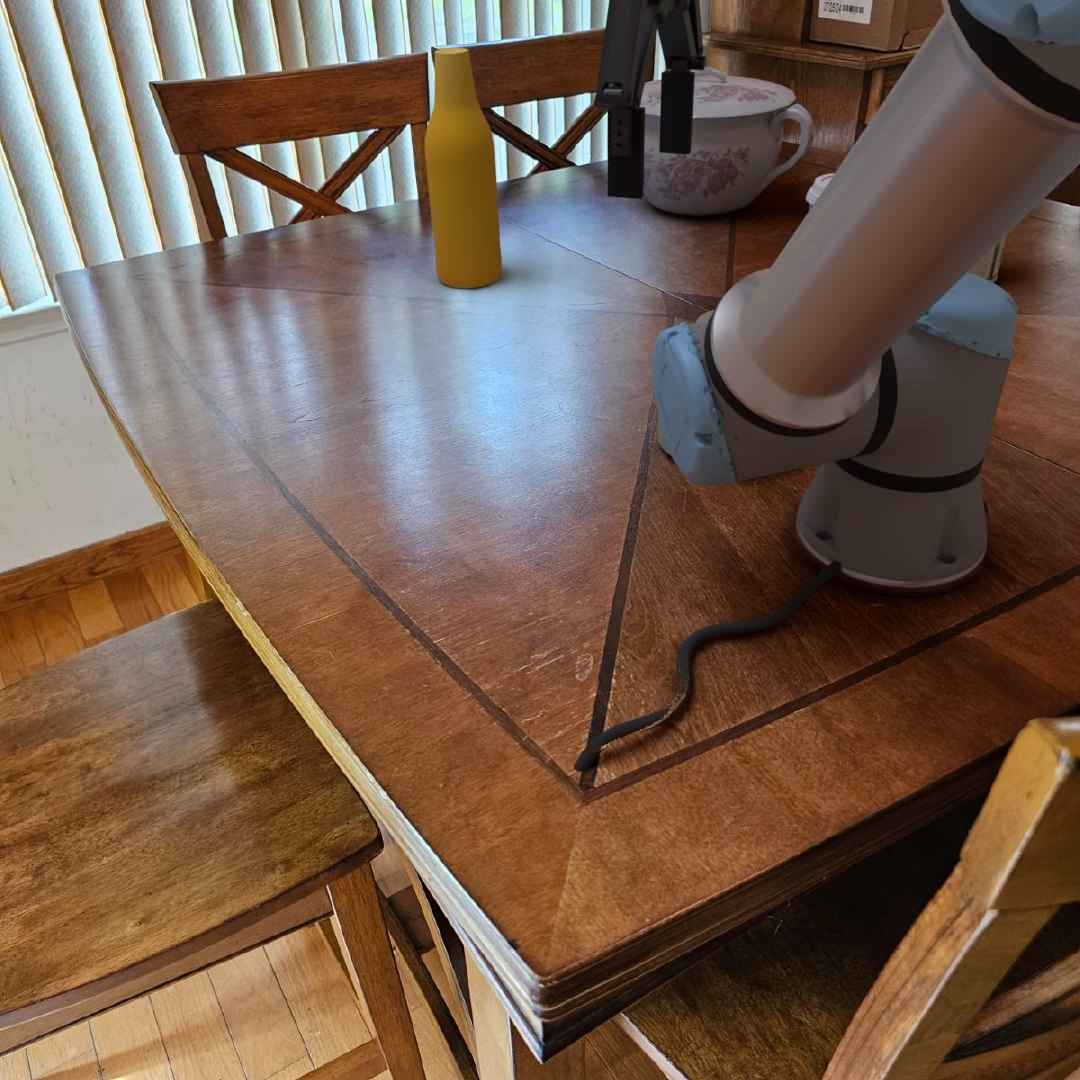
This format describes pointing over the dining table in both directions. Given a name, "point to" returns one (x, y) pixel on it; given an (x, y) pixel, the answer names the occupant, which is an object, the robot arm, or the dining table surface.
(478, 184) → the beer bottle
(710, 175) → the chamber pot
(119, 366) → the dining table surface
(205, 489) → the dining table surface
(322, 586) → the dining table surface
